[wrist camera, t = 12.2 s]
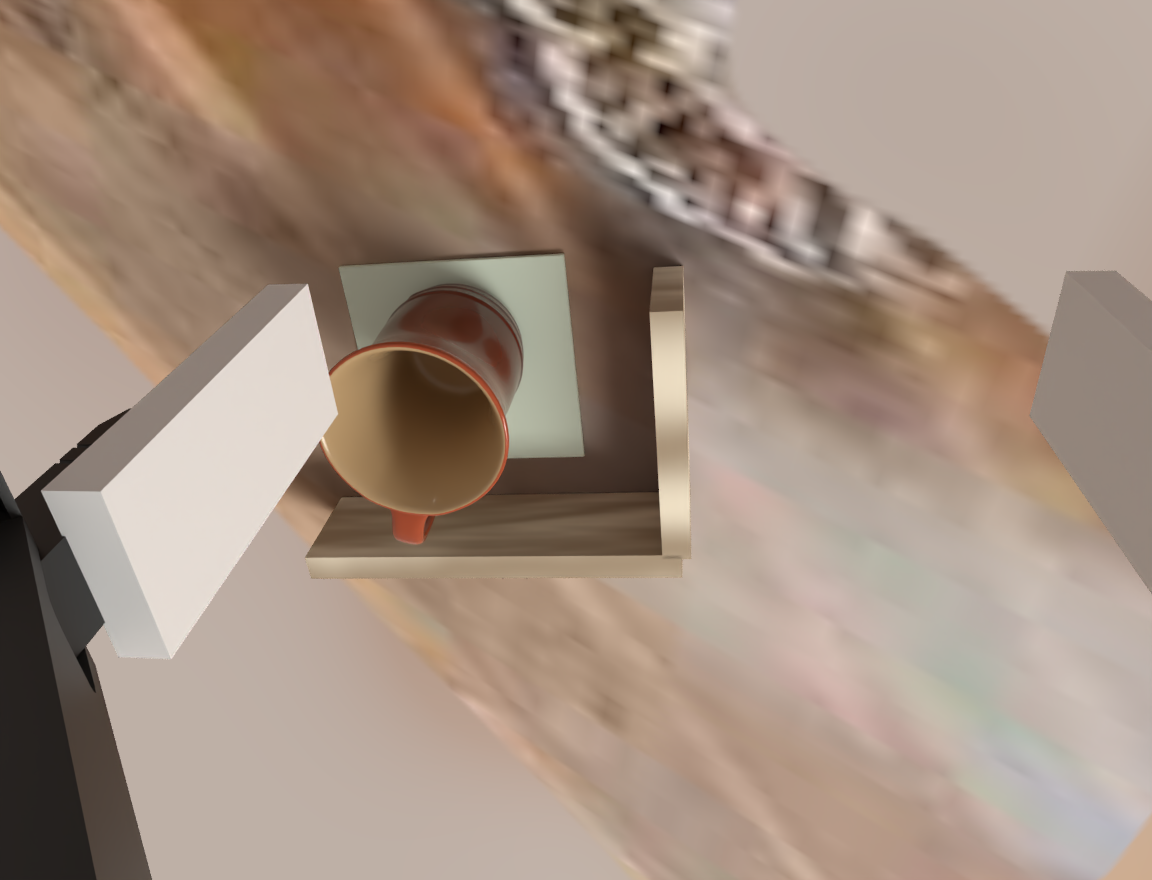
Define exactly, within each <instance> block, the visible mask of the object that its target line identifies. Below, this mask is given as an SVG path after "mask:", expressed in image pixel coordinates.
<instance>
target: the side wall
mask: <svg viewBox="0 0 1152 880" xmlns="http://www.w3.org/2000/svg"><path fill="white" fill-rule="evenodd" d="M650 331H651V349H652V368H653V387H654V406H655V425H656V444H657V463H658V482H659V501H660V520H661V539H662V555H663V556H664V555H670V556H671V555H674V556H675V555H676V556H677V555H681V557H682V559H691V510H690V469H689V436H688V404H687V372H686V339H685V307H684V275H683V266H672V267H654V268H653V279H652V290H651V302H650ZM676 556H675V557H676ZM664 557H665V556H664ZM667 558H668V557H667ZM667 558H666V559H667ZM678 558H679V557H678ZM668 559H670V557H669V558H668ZM674 559H675V558H674Z"/></svg>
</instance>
